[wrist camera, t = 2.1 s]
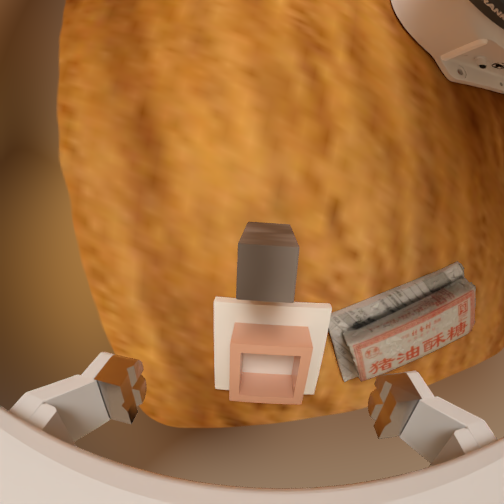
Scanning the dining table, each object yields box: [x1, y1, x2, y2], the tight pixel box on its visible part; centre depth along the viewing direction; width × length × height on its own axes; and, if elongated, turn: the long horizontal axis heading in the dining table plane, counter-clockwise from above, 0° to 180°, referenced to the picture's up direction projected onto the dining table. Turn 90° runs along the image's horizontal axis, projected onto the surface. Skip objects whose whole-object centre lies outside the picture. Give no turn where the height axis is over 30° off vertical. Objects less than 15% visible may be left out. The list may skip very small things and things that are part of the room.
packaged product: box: [328, 261, 476, 382], centre depth 28 cm, size 18×5×10 cm
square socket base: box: [214, 297, 332, 404], centre depth 29 cm, size 12×12×5 cm
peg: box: [236, 222, 299, 303], centre depth 24 cm, size 4×4×9 cm
